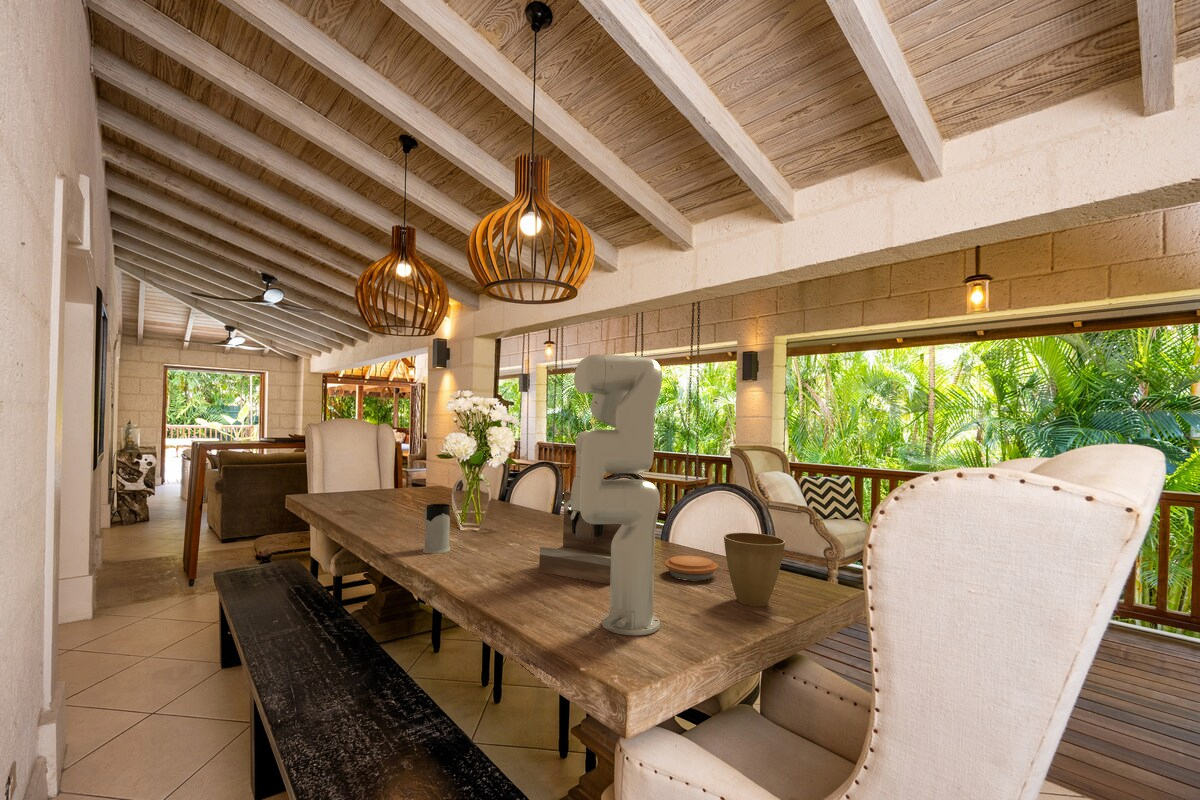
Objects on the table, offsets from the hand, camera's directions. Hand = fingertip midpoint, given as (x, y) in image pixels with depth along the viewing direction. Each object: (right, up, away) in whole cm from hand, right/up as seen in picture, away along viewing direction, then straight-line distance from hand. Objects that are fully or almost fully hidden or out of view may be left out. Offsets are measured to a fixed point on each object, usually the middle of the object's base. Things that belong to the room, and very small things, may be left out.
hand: (586, 533), depth 165 cm
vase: (0, -3, 0) cm, 3 cm away
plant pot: (+42, -12, -24) cm, 50 cm away
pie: (+30, -12, -1) cm, 33 cm away
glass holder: (-53, -11, +25) cm, 59 cm away
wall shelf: (-1, -11, -1) cm, 11 cm away
